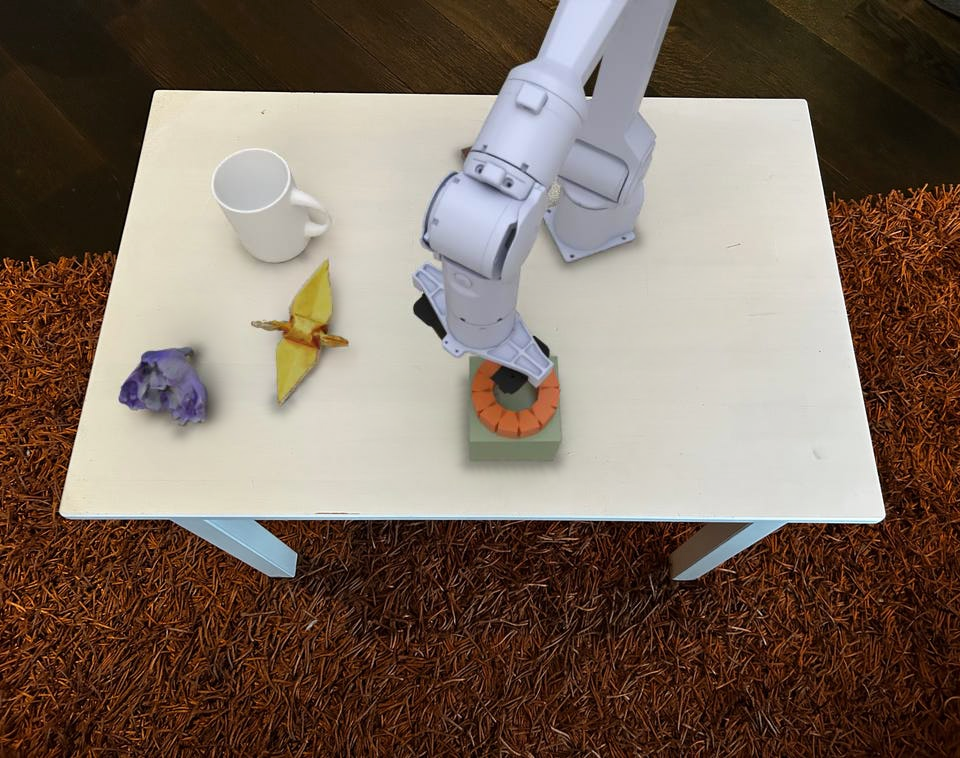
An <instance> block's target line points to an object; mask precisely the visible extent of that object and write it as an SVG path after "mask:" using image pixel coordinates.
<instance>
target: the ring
mask: <svg viewBox="0 0 960 758" xmlns="http://www.w3.org/2000/svg"><path fill="white" fill-rule="evenodd" d="M501 366H502V365H500V364H498V363H495V362H492V361H490V360H487V359H486V360H485V361H484V362H483V363H482V364H481V365H480V366H479V368H478V369H477V372H475V375H474V380H473V384H472V388H471V398H472V404H473V407H474V410H475V413H476V416H477V418H480V422H481V423H482V424H483V425H484V426H485V427H487V428H488V429H489V430H490V431H491V432H492V433H495V432H496V431H497V435H498V436H502V437H507V438H512V439H516V437H517V433H518V436H519V439H521V438H524V437H528V436H531V435H534V434H537V433H538V431H539V430H540V431H542V429H543V428H544V427H545V426H546V425H547V424H548V423H549V422H550V421H551V419H552V418H553V416H554V414H555V412H556V409H557V407H558V401H559V397H560V395H561V388H560V387H561V384H560V381H558V379H557V376H556V374H555V371H554V369H552V371H551V373H550V374H549V375H548V376H547V377H546V379H545V380H544V381H543V382H542V383H541V384H540V385H539V386H538V387H537V388H536V387H535V386H534V389H535V391H536V394H537V401H536V402H535V403H534V404H533V405H532V406H531V407H530V408H529V409H526V410H522V411H519V412H515V411H510V410H505V409H504V408H503V407H502V406H501V405H499V404H498V403H497V402H496V400H495V397H494V394H493V390H494V387H495V386H496V385H497V384H496V383H495V382H494V381H492V380H491V376H492V375H493V374H494V373H495V372H496V371H497V370H498V369H499V368H500V367H501ZM528 382H529V381H528ZM529 383H530V382H529Z"/></svg>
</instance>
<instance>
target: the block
mask: <svg viewBox="0 0 960 758" xmlns="http://www.w3.org/2000/svg"><path fill="white" fill-rule="evenodd" d="M468 357H469V358H468V360H469V362H468V363H469V365H468V369H469V370H468V372H469V375H468V378H469V380H468V393H469V394H468V401H469V402H468V419H469V420H468V447H469V462H553V461H554V459H555V457H556V454H557V451H558V450H559V447H560V445H561V443H562V441H563V439H562V438H563V437H562V421H561V419H562V417H561V401H560V400H561V399H560V397H561V396H559V401H558V407H557V409H556V412H555V414H554V416H553V418H552V419H551V421H550V422H549V423H548V424H547V425H546V426H545V427H544V428H543V429H542V431H540V430H539V431H538V433H537V434H534V435H531V436H528V437H524V438H521V439H519V436H518V433H517V437H516V439H512V438H507V437H502V436H498V435H497V431H496V432H495V433H492V432H491V431H490V430H489V429H488V428H487V427H485V426H484V425H483V424H482V423H481V422H480V418H477V416H476V413H475V410H474V407H473V404H472V398H471V388H472V384H473V380H474V375H475V372H477V369H478V368H479V366H480V365H481V364H482V363H483V362H484V361H485V360H486V359H485V358H482V357H479V356H477V355H470V356H468ZM558 357H559V356H557V355H550V356H549V358H548V359H549V360H550V361H552V362H553V363H554V364H553V368H552V369H554V371H555V374H556V376H557V379H558V381H559V379H560V378H559V361H558ZM559 382H560V381H559ZM493 394H494V397H495V400H496V402H497V403H498V404H499V405H501V406H502V407H503V408H504V409H505V410H510V411H515V412H519V411H522V410H526V409H529V408H530V407H531V406H532V405H533V404H534V403H535V402H536V401H537V394H536V391H535V389H534V386H533V385H532V384H531V383H529V382H528V381H527V382H526V383H525V384H524V385H523V386H522V387H521V388H520V389H519V390H518V391H517V392H515V393H514V394H509V393H506V394H504V393H503V392H502V391H501V390H500V389H499V388H498V385H496V386H495V387H494V390H493Z"/></svg>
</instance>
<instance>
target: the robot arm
mask: <svg viewBox="0 0 960 758" xmlns="http://www.w3.org/2000/svg"><path fill="white" fill-rule="evenodd" d="M677 1H678V0H559V1H558V5H557V7H556V9H555V12H554V15H553V17H552V20H551V22H550V24H549V27H548V29H547V32H546V34H545V36H544V39H543V41H542V44H541V46H540V49H539V51H538V53H537V56H536V58H534V59H532V60H530V61H528V62H525V63H523V64H522V63H521V64H519V65H517V66H515V67H513V68H512V69H511V70H510V71H509V73H508V74H507V77H506V79H505V81H504V82H503V85H502V87H501V89H500V90H499V92H498V95H497V97H496V98H495V100H494V103H493V105H492V106H491V109H490V110H489V112H488V114H487V117H486V119H485V120H484V122H483V125H482V126H481V128H480V130H479V133H478V134H477V136H476V138H475V140H474V142H473V145H471V146H472V148H471V150H470V152H469V154H468V156H467V158H466V160H465V162H464V161H463V164H462V168H461V170H460V171H459V172H458V171H456V170H452V171H450V172H448V173H446V174H445V175H444V177H442V178H441V180H440V181H439V183H438V184H437V186H435V188H434V190H433V192H432V193H431V196H430V198H429V200H428V203H427V205H426V208H425V211H424V214H423V218H422V219H423V220H422V226H421V227H422V229H421V230H422V231H421V234H420V236H419V243H420V245H421V247H422V248H423V249H424V250H427V251H429V252H432V255H433V259H434V260H436V261H438V262H441V268H439V267H438V266H436V265H434V264H433V263H432V262H430V261H429V260H426V261H425V262H424V263H422V264H421V265H420V266H419V267H418V268H417V269H416V270H415V271H414V272H413V273H412V274H411V279H412V284H413V287H414V288H415V289H416V290H418V291H419V292H422V293H421V296H420V297H419V298H418V299H417V300H416V301H415V302H414V303H413V306H412V311H413V312H412V313H413V315H414V316H415V317H416V318H418V319H419V320H420V321H421V322H423V323H424V324H425V325H426V326H427V327H430V328H431V329H432V330H433V331H434V333H435V334H436V335H437V337H438V338H439V339H440V340H441V347H442V349H443V350H445V351H446V352H447V354H449V355H450V356H452V357H453V358H454V359H461V358H462V357H463V356H464V355H466V354H472V355H473V356H479V357H482V358H485V359H487V360H490V361H492V362H495V363H498V364H500V365H502V366H501V367H500V368H499V369H498V370H497V371H496V372H495V373H494V374H493V375H492V376H491V380H492V381H494V382H495V383H496V384H497V385H498V388H499V389H500V390H501V391H502V392H503V393H504V394H506V393H509V394H514V393H515V392H517V391H518V390H519V389H520V388H521V387H522V386H523V385H524V384H525V383H526V382H527V381H529V382H530V383H531V384H532V385H533V386H535V387H536V388H537V387H538V386H539V385H540V384H541V383H542V382H543V381H544V380H545V379H546V377H547V376H548V375H549V374H550V373H551V371H552V368H553V364H554V363H553V362H552V361H550V360H549V359H548V358H549V356H551V350H550V348H549V346H548V345H547V344H545V343H544V342H543V341H542V340H541V339H540V338H538V337H537V336H536V335H533V334H531V331H530V330H529V328H528V327H527V325H526V323H525V321H524V319H522V317H521V315H520V313H519V312H518V309H517V304H518V295H519V286H520V280H521V272H522V266H523V265H524V263H525V262H526V260H527V258H528V257H529V255H530V253H531V251H532V249H533V247H534V245H535V242H536V240H537V237H538V234H539V231H540V228H541V225H542V222H543V221H544V223H545V225H546V227H547V229H548V232H549V233H550V235H551V237H552V239H553V241H554V243H555V245H556V246H557V248H558V250H559V253H560V254H561V257H562V258H563V260H564V261H565V263H571V262H575V261H578V260H580V259H583V258H585V257H589V256H592V255H594V254H597V253H600V252H603V251H607V250H608V249H609V250H610V249H611V248H614V247H618V246H621V245H623V244H626V243H628V242H633V241H634V240H635V239H636V234H635V231H634V228H635V226H636V223H637V221H638V218H639V215H640V212H641V210H642V209H643V208H642V207H643V205H644V202H645V187H644V183H643V182H644V179H645V177H646V176H647V173H648V171H649V168H650V166H651V164H652V160H653V153H654V150H655V147H656V145H657V143H656V138H657V134H656V132H655V131H654V129H652V127H651V126H650V125H649V123H648V122H647V121H646V120H645V118H644V117H643V115H642V114H641V113H640V111H639V110H640V108H641V104H642V101H643V99H644V96H645V93H646V90H647V87H648V84H649V81H650V78H651V76H652V73H653V70H654V67H655V64H656V61H657V59H658V55H659V53H660V50H661V46H662V45H663V42H664V41H663V40H664V38H665V35H666V32H667V29H668V26H669V23H670V21H671V18H672V15H673V12H674V9H675V6H676V4H677ZM600 61H601V63H600V65H599V69H598V73H597V76H596V77H597V78H596V82H595V85H594V89H593V93H592V96H591V98H589V99H587V97H586V93H585V89H584V87H585V85H586V83H587V82H588V80H589V78H590V77H591V76H592V74H593V72H594V70H595V69H596V68H597V65H598V64H599V62H600ZM555 181H556V184H558V185H559V186H560V187H559V192H558V198H557V201H556V204H555V205H553V206H549V205H550V203H551V198H550V196H549V193H550V191H551V189H552V187H553V185H554V183H555Z"/></svg>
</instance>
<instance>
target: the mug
mask: <svg viewBox="0 0 960 758" xmlns="http://www.w3.org/2000/svg"><path fill="white" fill-rule="evenodd" d="M210 188H211V193H212V196H213V197H214V199H215V201H216V203H217V204H218V206H219V208H220V209H221V211H222V212H223V214H224V215H225V217H226V219H227V220H228V223H229V224H230V225H231V228H232V229H233V230H234V232H235V234H236V236H237V237H238V239H239V241H240V242H241V243H242V246H243V247H244V248H245V249H246V251H247V252H248V253H249V254H250V255H251V256H252V257H254V258H256V259H257V260H260V261H262V262H267V263H283V262H287V261H290V260H291V259H294V258H296V257H297V256H299V255H300V254H301V253H302V252H303V251H305V249H306V247H307V246H308V244H309V243H310V240H311V238H314V237H320V236H323V235H324V234H326V233H327V232H328V231H330V229H331V227H332V218H331V214H330V212H329V210H328V209H327V207H326V206H325V205H324V204H323V203H322V202H321V201H320V200H319V199H317V198H315V197H314V196H312V195H310V194H309V193H306V192H305V191H302V190H301V189H298V186H297V183H296V181H295V179H294V177H293V174H292V171H291V169H290V167H289V164H288V163H287V161H286V160H285V159H284V158H283V156H281V155H280V154H278V153H276V152H274V151H272V150H270V149H266V148H262V147H250V148H244V149H241V150H237V151H235V152H233V153H231V154H229V155H228V156H227V157H224V158H223V159H222V160H221V161H220V162H219V163H218V164H217V166H216V167H215V169H214V171H213V174H212V176H211V182H210ZM307 208H310V209H313V210H316V211H318V212H320V213H321V214H323V215H324V216H325V218H326V219H327V222H326V223H324V224H319V223H315V222H313V221H311V218H310V216H309V214H308V210H307Z"/></svg>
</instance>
